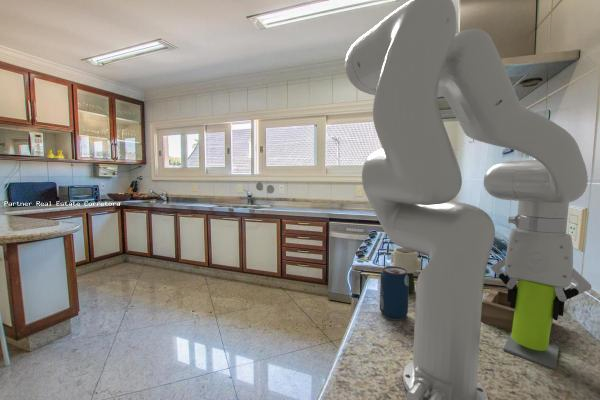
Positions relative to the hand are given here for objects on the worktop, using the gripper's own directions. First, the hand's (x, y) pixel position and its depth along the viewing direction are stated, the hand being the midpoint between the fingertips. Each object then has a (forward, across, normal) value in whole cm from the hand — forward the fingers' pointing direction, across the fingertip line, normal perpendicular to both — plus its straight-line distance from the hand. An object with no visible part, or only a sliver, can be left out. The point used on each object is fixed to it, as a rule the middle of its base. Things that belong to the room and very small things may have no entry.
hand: (533, 311), depth 57 cm
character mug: (+9, -32, +10) cm, 35 cm away
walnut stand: (+8, -4, +12) cm, 15 cm away
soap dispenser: (+7, 0, 0) cm, 7 cm away
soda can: (+9, -27, -7) cm, 29 cm away
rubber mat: (+8, 0, 0) cm, 8 cm away
